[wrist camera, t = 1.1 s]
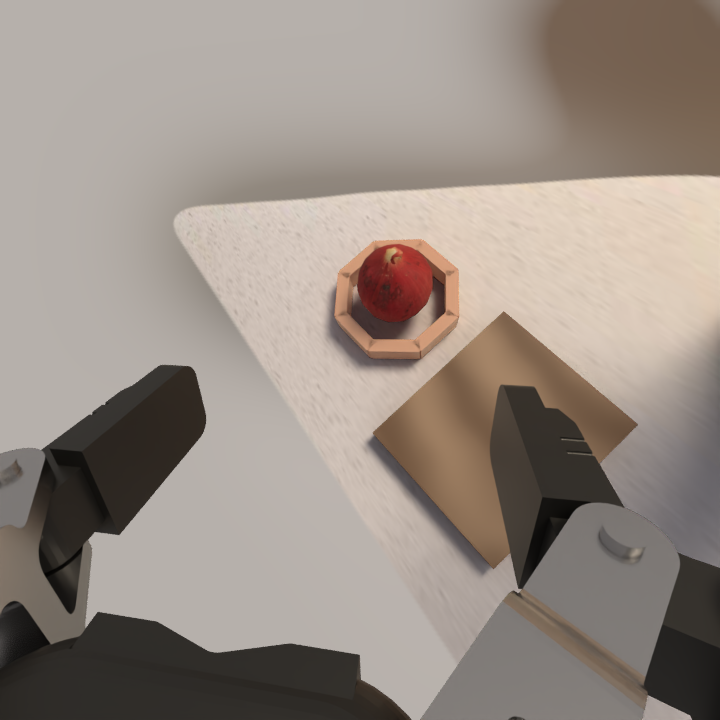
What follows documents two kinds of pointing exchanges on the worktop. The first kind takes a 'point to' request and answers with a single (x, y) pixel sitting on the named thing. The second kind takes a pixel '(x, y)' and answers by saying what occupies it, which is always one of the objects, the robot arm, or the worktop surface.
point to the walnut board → (488, 425)
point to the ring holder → (394, 347)
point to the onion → (395, 282)
